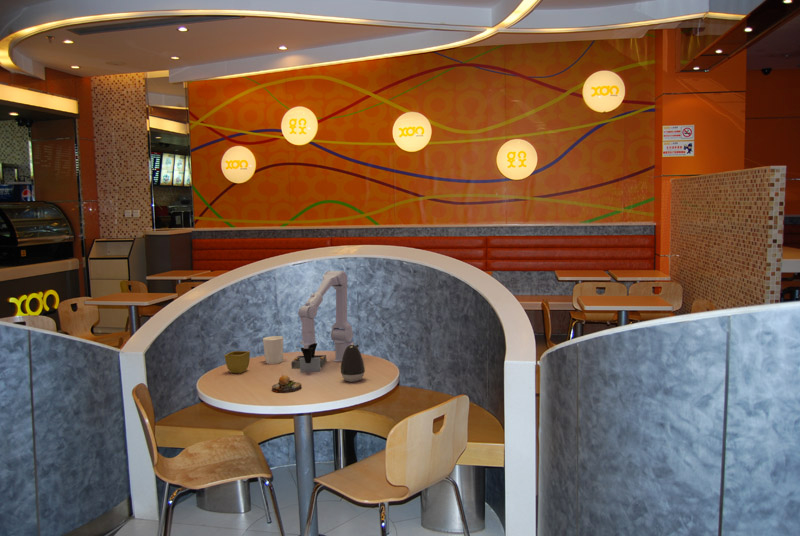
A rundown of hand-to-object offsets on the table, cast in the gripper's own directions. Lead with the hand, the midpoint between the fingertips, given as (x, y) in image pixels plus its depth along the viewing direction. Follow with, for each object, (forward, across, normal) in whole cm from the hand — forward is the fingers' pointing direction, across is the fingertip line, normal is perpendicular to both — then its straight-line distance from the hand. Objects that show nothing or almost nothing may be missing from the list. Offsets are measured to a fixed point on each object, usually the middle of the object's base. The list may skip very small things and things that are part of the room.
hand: (309, 361), depth 280 cm
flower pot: (+5, -2, -34) cm, 34 cm away
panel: (+5, 0, 0) cm, 5 cm away
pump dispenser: (+5, +19, +22) cm, 29 cm away
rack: (+4, -13, -3) cm, 14 cm away
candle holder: (+5, -21, -22) cm, 31 cm away
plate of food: (+5, +30, -4) cm, 31 cm away
